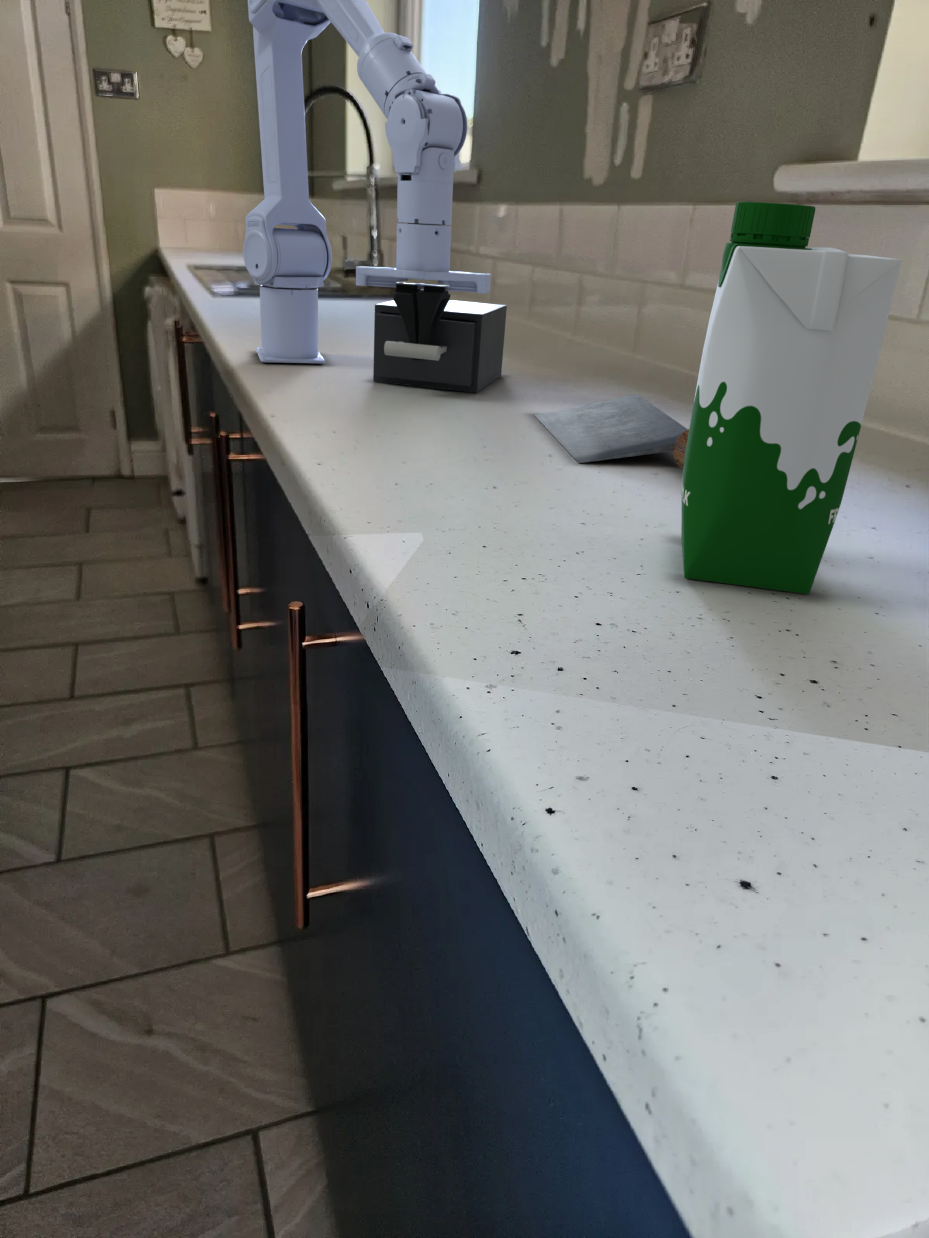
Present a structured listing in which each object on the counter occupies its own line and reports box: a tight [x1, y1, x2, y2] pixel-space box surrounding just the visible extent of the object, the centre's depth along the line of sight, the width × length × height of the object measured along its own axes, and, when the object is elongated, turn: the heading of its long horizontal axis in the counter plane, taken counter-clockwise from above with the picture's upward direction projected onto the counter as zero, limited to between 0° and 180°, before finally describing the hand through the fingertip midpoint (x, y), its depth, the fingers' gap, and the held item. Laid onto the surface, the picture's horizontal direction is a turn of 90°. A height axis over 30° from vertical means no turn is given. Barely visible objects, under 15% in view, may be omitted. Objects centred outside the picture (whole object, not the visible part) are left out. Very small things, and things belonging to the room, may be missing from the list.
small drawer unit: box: [372, 299, 508, 394], centre depth 105 cm, size 14×13×9 cm
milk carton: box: [680, 201, 903, 595], centre depth 49 cm, size 9×9×20 cm
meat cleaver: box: [534, 394, 689, 470], centre depth 76 cm, size 34×11×4 cm, turn 8°
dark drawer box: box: [373, 313, 476, 386], centre depth 102 cm, size 17×11×7 cm, turn 166°
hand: (420, 359), depth 96 cm, fingers closed, pressing on dark drawer box
